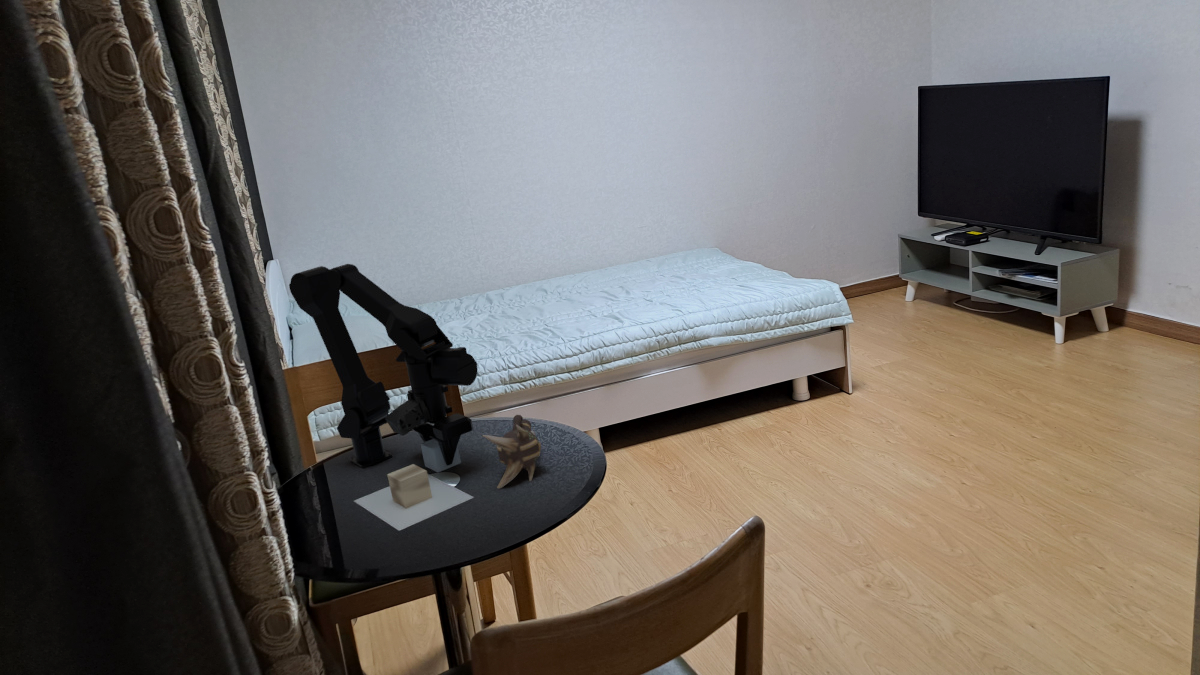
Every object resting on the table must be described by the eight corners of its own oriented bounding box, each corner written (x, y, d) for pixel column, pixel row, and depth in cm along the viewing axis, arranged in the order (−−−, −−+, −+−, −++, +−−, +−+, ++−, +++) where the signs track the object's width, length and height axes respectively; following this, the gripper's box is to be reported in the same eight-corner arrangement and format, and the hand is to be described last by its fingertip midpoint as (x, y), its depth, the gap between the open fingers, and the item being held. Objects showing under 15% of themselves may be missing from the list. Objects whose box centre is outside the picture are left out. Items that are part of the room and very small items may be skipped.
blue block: (425, 468, 159) (420, 443, 157) (448, 458, 161) (443, 434, 160) (438, 474, 155) (433, 449, 153) (461, 464, 158) (456, 440, 156)
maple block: (393, 500, 145) (387, 474, 144) (418, 490, 148) (413, 464, 147) (406, 508, 141) (400, 481, 140) (432, 497, 144) (426, 470, 143)
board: (354, 502, 148) (353, 500, 147) (424, 474, 156) (424, 472, 156) (399, 532, 134) (399, 530, 134) (474, 499, 142) (473, 497, 142)
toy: (557, 456, 157) (540, 486, 142) (516, 462, 158) (495, 493, 144) (544, 401, 155) (526, 426, 141) (503, 408, 157) (480, 434, 142)
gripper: (364, 388, 156) (381, 465, 160) (410, 406, 142) (427, 490, 146) (417, 371, 163) (433, 445, 167) (466, 386, 148) (482, 467, 152)
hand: (442, 461), depth 158 cm, fingers closed on blue block, 5 cm apart
